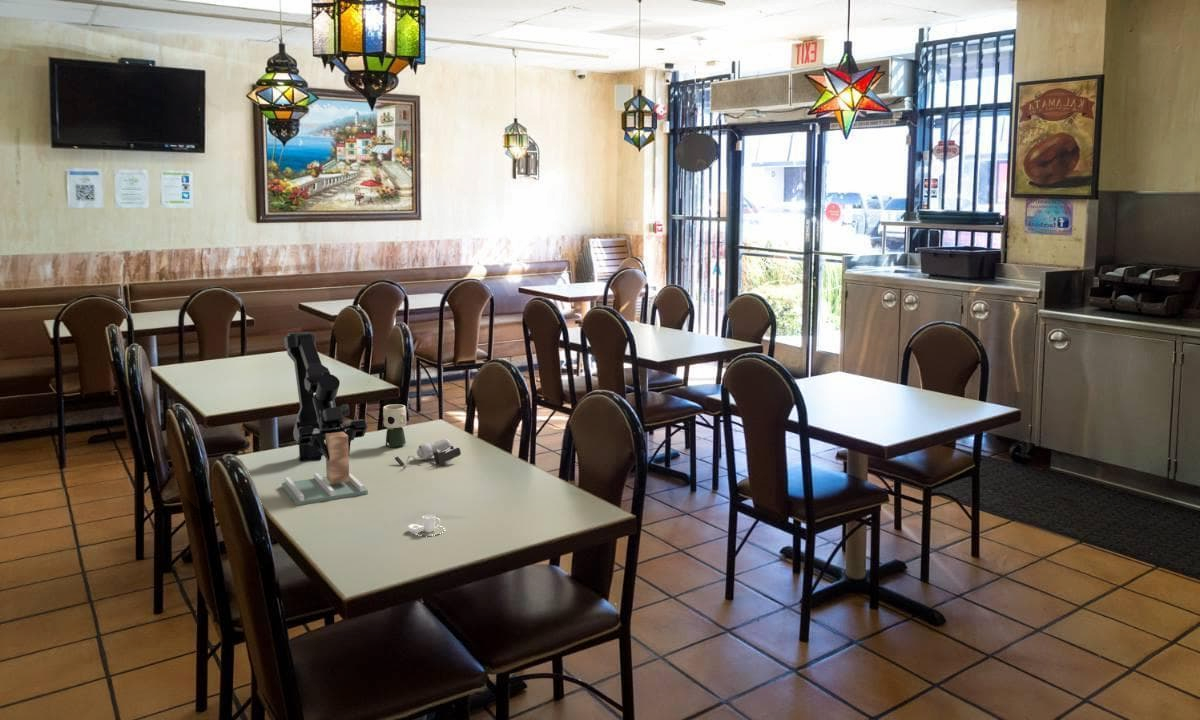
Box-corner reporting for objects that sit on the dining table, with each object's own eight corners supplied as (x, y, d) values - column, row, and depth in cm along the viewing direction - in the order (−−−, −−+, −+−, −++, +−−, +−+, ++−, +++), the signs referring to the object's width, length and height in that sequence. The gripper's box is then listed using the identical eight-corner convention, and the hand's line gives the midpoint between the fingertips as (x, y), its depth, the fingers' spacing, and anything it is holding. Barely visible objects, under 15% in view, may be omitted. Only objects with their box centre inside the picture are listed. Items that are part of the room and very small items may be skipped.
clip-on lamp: (406, 481, 280) (463, 459, 288) (402, 461, 278) (459, 441, 285) (394, 466, 290) (449, 446, 298) (390, 448, 288) (445, 428, 295)
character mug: (376, 445, 307) (374, 406, 305) (393, 440, 312) (392, 402, 310) (397, 451, 300) (396, 411, 298) (415, 446, 306) (414, 407, 303)
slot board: (281, 486, 265) (281, 478, 265) (349, 476, 274) (349, 468, 274) (296, 505, 250) (296, 496, 249) (367, 493, 259) (367, 485, 259)
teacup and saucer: (403, 535, 230) (402, 519, 229) (420, 524, 237) (420, 509, 236) (434, 540, 227) (434, 524, 226) (451, 529, 234) (451, 513, 233)
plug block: (331, 483, 260) (329, 437, 258) (326, 478, 265) (325, 433, 262) (349, 481, 263) (348, 435, 260) (344, 476, 267) (343, 431, 265)
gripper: (296, 398, 258) (308, 447, 251) (363, 391, 267) (377, 438, 260) (291, 420, 266) (302, 468, 259) (357, 412, 275) (369, 458, 268)
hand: (338, 458), depth 261 cm, fingers closed on plug block, 5 cm apart
